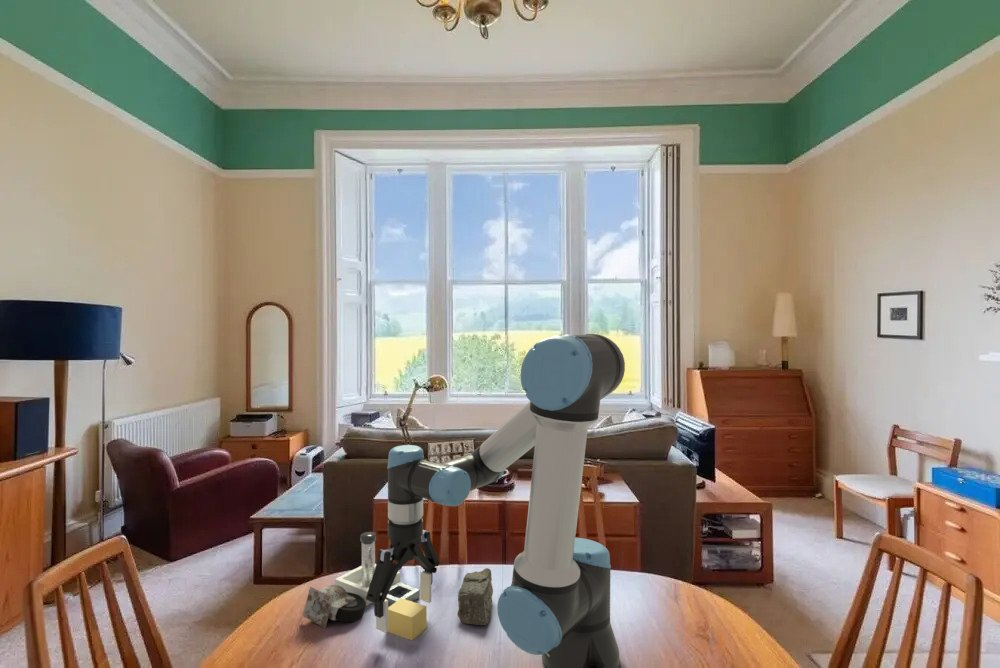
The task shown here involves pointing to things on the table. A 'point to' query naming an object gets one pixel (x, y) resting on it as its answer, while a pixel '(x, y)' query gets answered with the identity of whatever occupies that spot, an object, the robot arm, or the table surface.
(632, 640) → the table surface
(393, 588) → the pin socket
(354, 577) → the tray
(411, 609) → the block
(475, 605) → the rock
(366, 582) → the pin
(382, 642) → the table surface
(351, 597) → the caster wheel
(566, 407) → the robot arm
